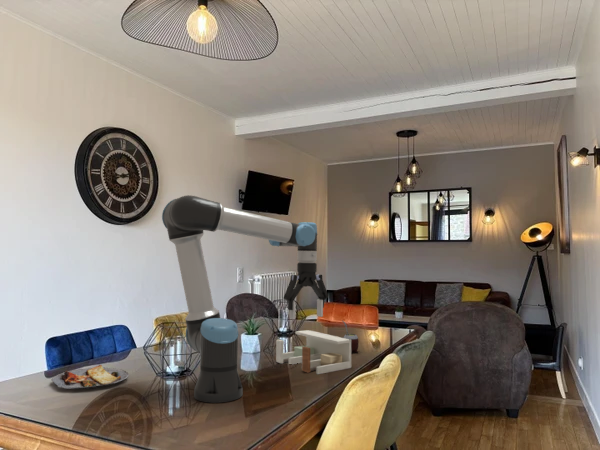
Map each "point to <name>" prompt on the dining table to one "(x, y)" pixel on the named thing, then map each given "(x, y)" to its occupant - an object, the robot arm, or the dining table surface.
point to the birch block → (325, 359)
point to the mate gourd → (352, 340)
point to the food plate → (89, 377)
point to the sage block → (296, 351)
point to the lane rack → (324, 351)
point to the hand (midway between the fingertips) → (306, 317)
